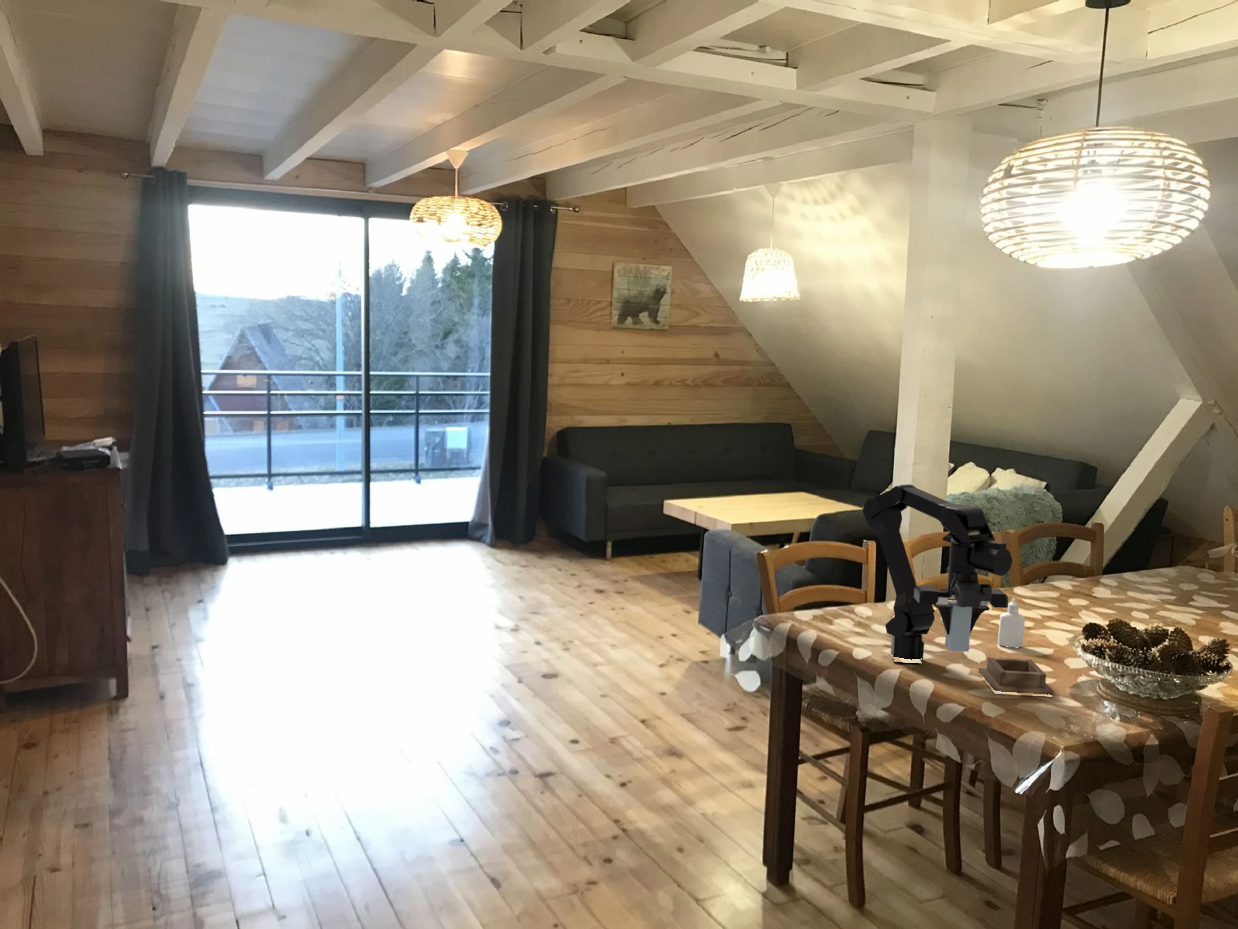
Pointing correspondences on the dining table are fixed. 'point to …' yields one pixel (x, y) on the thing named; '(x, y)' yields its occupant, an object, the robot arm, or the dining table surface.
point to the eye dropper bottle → (1011, 626)
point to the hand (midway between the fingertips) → (957, 634)
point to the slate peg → (959, 628)
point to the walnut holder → (1015, 676)
